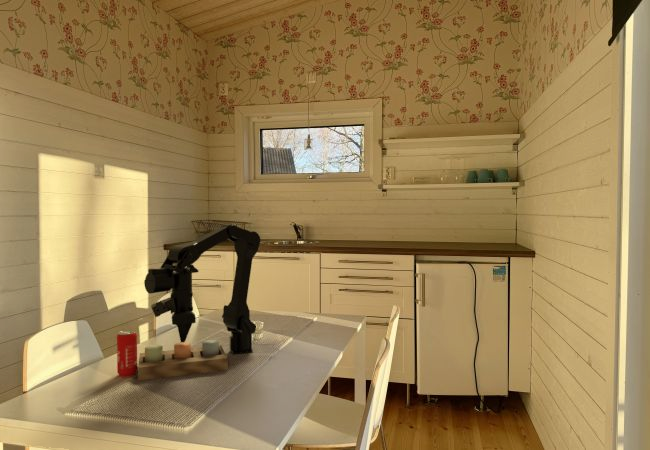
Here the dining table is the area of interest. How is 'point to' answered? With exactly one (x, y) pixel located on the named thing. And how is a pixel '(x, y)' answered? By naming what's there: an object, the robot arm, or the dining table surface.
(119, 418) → the dining table surface
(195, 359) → the wooden compartment tray
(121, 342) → the beverage can
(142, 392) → the dining table surface
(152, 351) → the button sage
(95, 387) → the dining table surface
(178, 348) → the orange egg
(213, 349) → the sage green rounded cylinder
